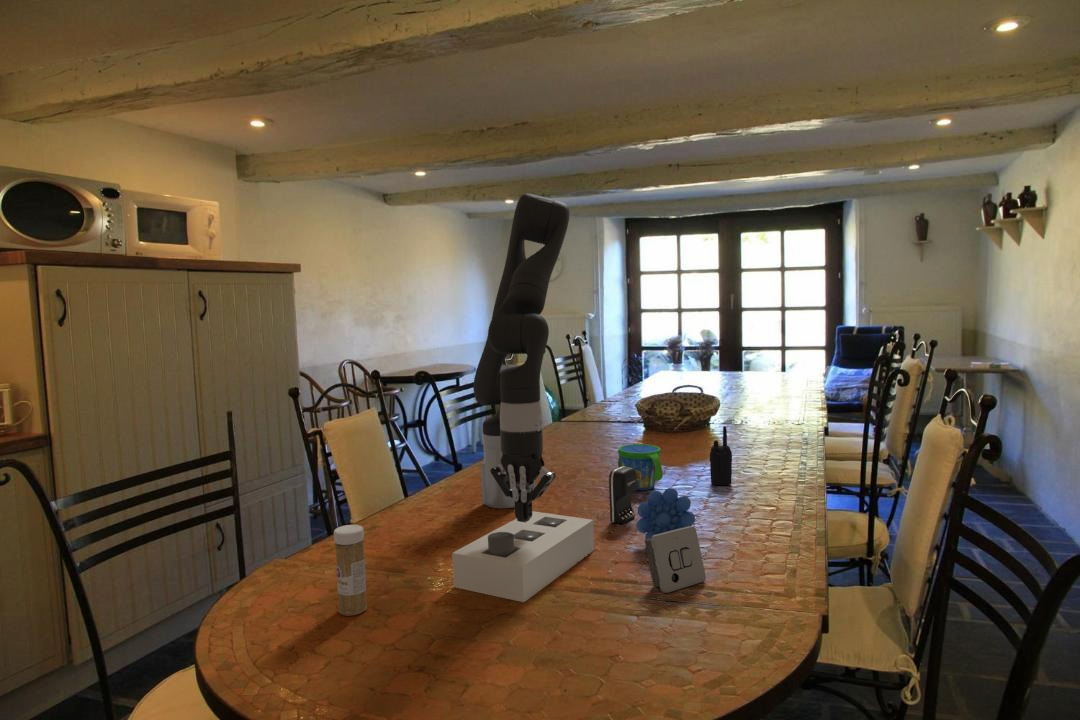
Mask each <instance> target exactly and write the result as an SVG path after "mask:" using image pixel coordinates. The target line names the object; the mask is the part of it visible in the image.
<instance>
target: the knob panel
mask: <svg viewBox="0 0 1080 720" xmlns="http://www.w3.org/2000/svg"><path fill="white" fill-rule="evenodd" d="M544 519H557V520H560V521H561V522H562V524H560V525H558V526H557V527H549V526H542V525H539V521H541V520H544ZM594 527H595V526H594V519H590V518H582V517H576V516H569V515H568V516H567V515H562V514H554V513H548V512H539V511H533V510H532V517H531V518H530V520H529V521H527V522H519V521H517V518H515V519H513V520H511V521H509V522H507V523H506V524H504V525H502V526H500V527H498V528H496V529H494V530H492V531H490V532H489V533H487V534H485V535H483V536H481V537H480V538H477V539H475V540H474V541H472V542H470V543H468V544H466V545H464V546H462V547H461V548H459V549H456V550H455V551H453V552H452V555H451V556H452V571H453V572H452V574H453V575H452V576H453V577H452V578H453V587H454V588H457V589H460V590H461V589H462V590H466V591H470V592H475V593H479V594H484V595H489V596H492V597H493V596H494V597H498V598H502V599H507V600H512V601H515V602H516V601H517V602H520V603H525V602H526V601H528V600H529V599H531V598H532V597H534V596H535V595H536V594H537V593H539V592H541V591H542V589H544V588H545V587H547V586H548V585H549V584H551V583H552V582H554V581H555V580H556V579H558V578H559V577H560V576H561V575H563V574H564V573H566V572H567V571H569V570H570V569H572V567H574V566H575V565H577V564H578V563H579V562H581V560H583V559H584V557H585V558H586V557H588V556H589V555H590V554H591V553H592V552H594V551H595V535H594V534H595V531H594V530H595V528H594ZM496 532H509V533H512V534H513V535H514V553H512V554H511V555H509V556H508V557H506V558H505V557H500V556H494V555H489V554H488V536H489V535H490V534H492V533H496ZM522 532H535V533H538V534H539V538H537V539H535V540H534V541H532V542H531V541H525V540H519V539H515V535H516V534H518V533H522ZM588 554H589V555H588ZM577 562H578V563H577Z"/></svg>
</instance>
